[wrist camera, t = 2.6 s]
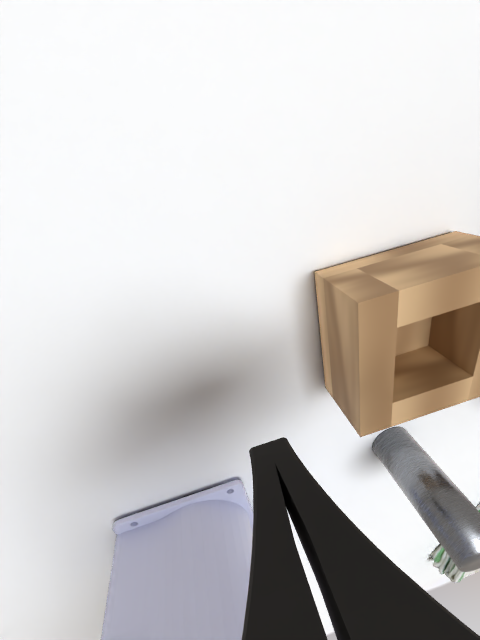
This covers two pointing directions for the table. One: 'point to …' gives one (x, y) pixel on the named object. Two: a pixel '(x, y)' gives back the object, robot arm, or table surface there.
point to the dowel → (432, 496)
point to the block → (402, 331)
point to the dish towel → (449, 564)
